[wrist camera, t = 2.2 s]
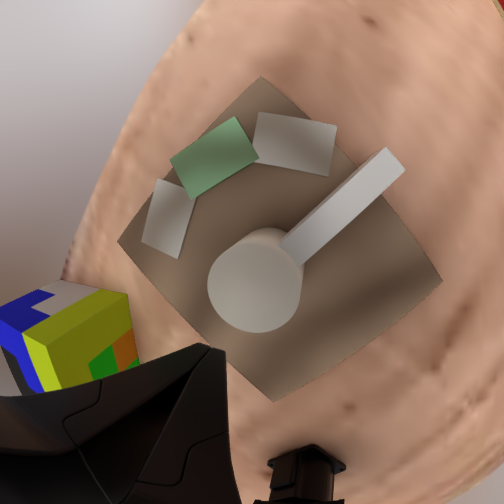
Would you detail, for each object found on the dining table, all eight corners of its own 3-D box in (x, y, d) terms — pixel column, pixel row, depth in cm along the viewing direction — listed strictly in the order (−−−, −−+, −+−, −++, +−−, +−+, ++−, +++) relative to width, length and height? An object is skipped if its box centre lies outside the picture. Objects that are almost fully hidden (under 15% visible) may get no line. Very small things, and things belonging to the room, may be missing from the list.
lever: (268, 307, 18) (251, 347, 14) (222, 259, 18) (190, 284, 14) (400, 192, 15) (432, 196, 10) (351, 136, 15) (366, 117, 10)
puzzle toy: (59, 279, 25) (-11, 312, 15) (127, 293, 23) (45, 346, 13) (78, 356, 27) (24, 399, 18) (144, 381, 25) (89, 443, 16)
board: (444, 268, 16) (453, 274, 15) (275, 393, 22) (272, 404, 20) (268, 70, 16) (264, 62, 15) (122, 234, 21) (111, 238, 20)
